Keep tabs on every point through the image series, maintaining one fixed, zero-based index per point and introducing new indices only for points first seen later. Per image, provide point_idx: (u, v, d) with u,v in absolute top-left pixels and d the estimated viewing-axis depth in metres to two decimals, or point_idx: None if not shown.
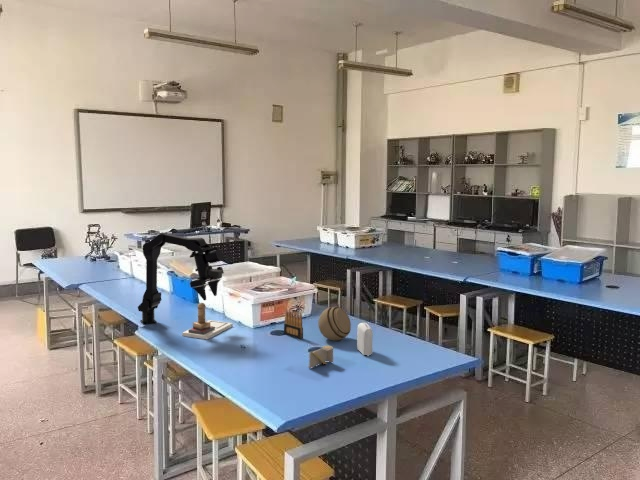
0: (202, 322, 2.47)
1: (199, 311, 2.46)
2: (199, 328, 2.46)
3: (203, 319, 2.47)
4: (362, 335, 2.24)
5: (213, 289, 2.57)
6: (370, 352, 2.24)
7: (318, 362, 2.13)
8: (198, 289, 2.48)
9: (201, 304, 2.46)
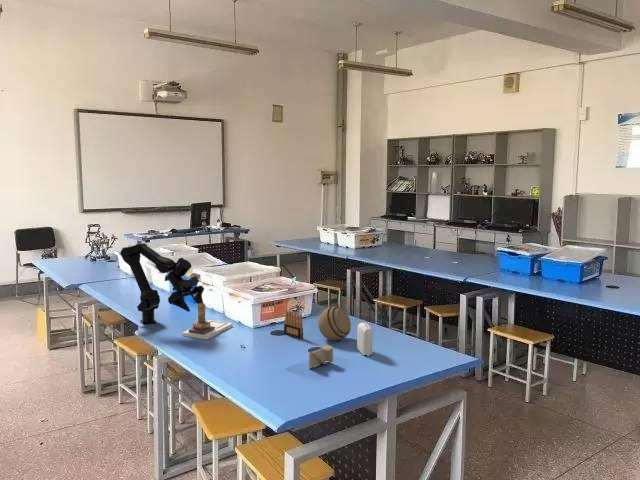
0: (202, 322, 2.47)
1: (199, 311, 2.46)
2: (199, 328, 2.46)
3: (203, 319, 2.47)
4: (362, 335, 2.24)
5: (199, 301, 2.54)
6: (370, 352, 2.24)
7: (318, 362, 2.13)
8: (178, 303, 2.46)
9: (201, 304, 2.46)
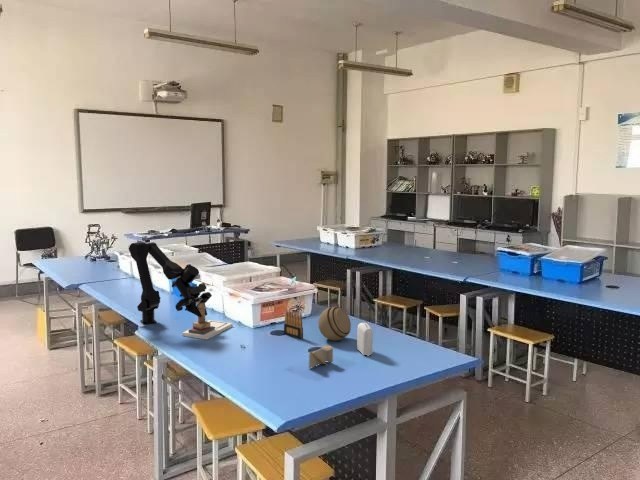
0: (202, 322, 2.47)
1: None
2: (199, 328, 2.46)
3: (203, 319, 2.47)
4: (362, 335, 2.24)
5: None
6: (370, 352, 2.24)
7: (318, 362, 2.13)
8: (190, 309, 2.47)
9: (201, 304, 2.46)
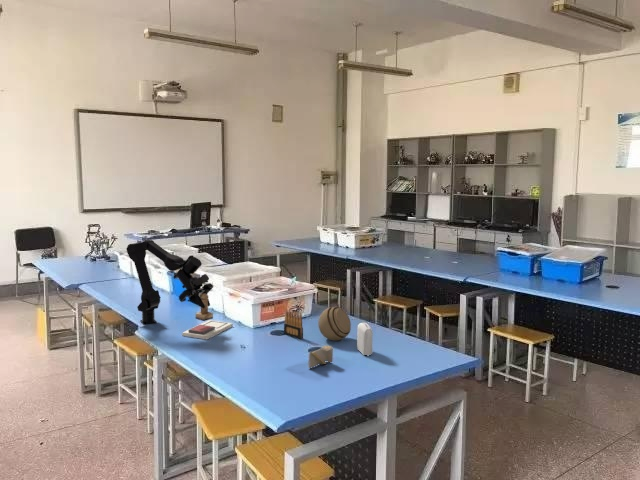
0: (205, 312, 2.49)
1: None
2: (202, 318, 2.47)
3: (206, 309, 2.49)
4: (362, 335, 2.24)
5: None
6: (370, 352, 2.24)
7: (318, 362, 2.13)
8: (193, 300, 2.48)
9: (204, 295, 2.48)
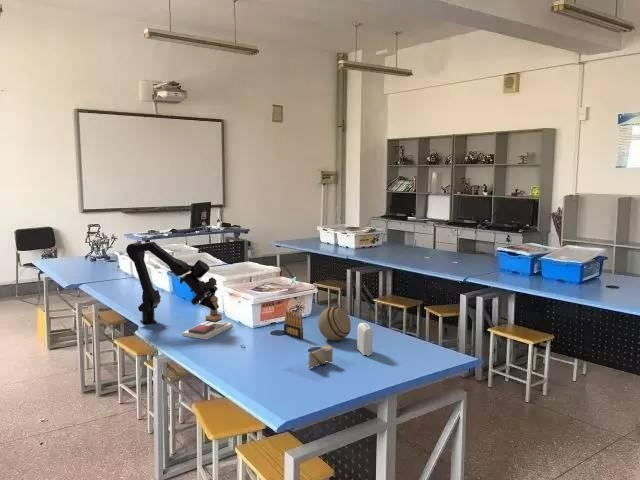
0: (215, 314, 2.57)
1: (213, 304, 2.56)
2: (214, 320, 2.55)
3: (216, 311, 2.57)
4: (362, 335, 2.24)
5: None
6: (370, 352, 2.24)
7: (318, 362, 2.13)
8: (204, 303, 2.55)
9: (214, 297, 2.56)
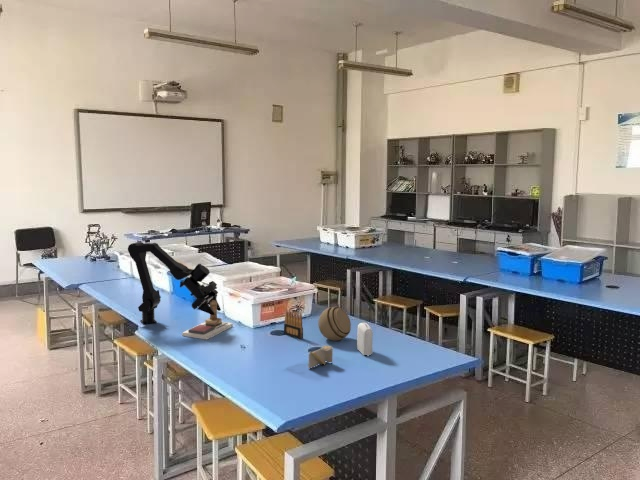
0: (215, 318, 2.58)
1: (212, 308, 2.56)
2: (213, 324, 2.56)
3: (216, 316, 2.58)
4: (362, 335, 2.24)
5: None
6: (370, 352, 2.24)
7: (317, 362, 2.12)
8: (202, 308, 2.53)
9: (214, 301, 2.57)
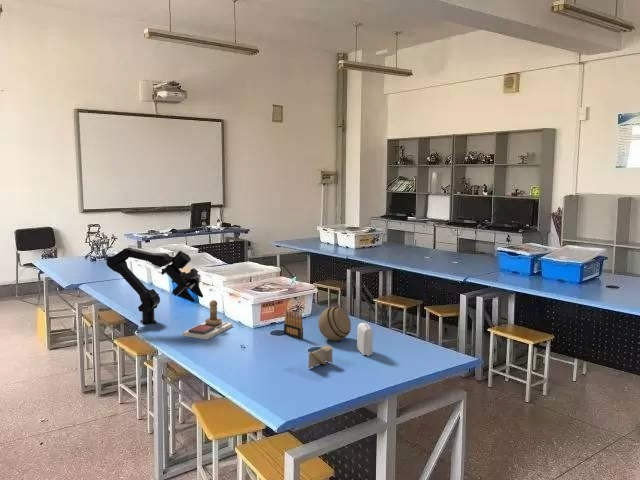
0: (215, 318, 2.58)
1: (212, 308, 2.56)
2: (213, 324, 2.56)
3: (216, 316, 2.58)
4: (362, 335, 2.24)
5: (197, 292, 2.64)
6: (370, 352, 2.24)
7: (317, 362, 2.12)
8: (183, 295, 2.54)
9: (214, 301, 2.57)
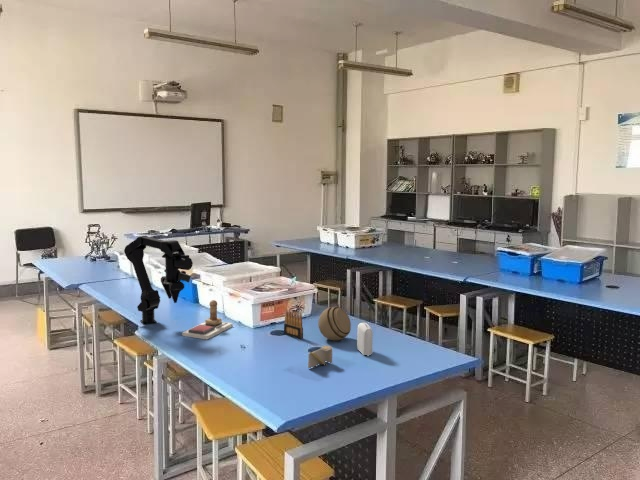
0: (215, 318, 2.58)
1: (212, 308, 2.56)
2: (213, 324, 2.56)
3: (216, 316, 2.58)
4: (362, 335, 2.24)
5: (168, 291, 2.60)
6: (370, 352, 2.24)
7: (317, 362, 2.12)
8: (173, 291, 2.50)
9: (214, 301, 2.57)
